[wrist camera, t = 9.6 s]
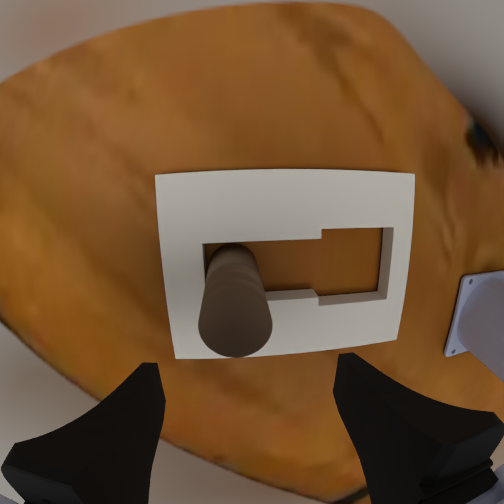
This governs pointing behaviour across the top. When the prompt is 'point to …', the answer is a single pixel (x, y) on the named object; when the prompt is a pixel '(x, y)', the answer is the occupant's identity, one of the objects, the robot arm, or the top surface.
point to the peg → (234, 304)
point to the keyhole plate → (285, 228)
